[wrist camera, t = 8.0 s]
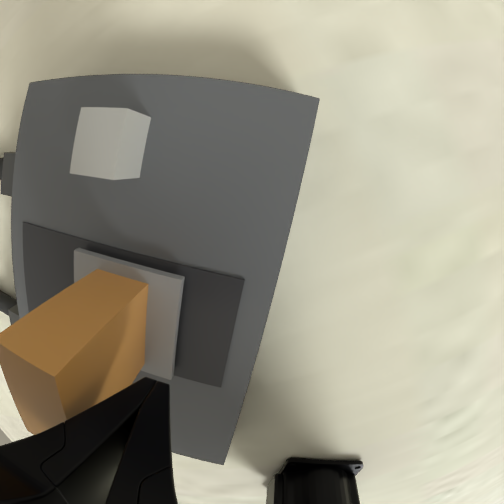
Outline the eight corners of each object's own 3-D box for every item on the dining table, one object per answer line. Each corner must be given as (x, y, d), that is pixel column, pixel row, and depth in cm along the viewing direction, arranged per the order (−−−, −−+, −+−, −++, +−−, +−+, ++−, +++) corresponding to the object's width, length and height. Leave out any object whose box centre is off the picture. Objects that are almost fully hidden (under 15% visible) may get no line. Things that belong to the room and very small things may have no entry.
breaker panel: (310, 114, 12) (329, 82, 7) (229, 432, 18) (219, 489, 13) (42, 93, 12) (-15, 82, 8) (40, 362, 18) (6, 396, 13)
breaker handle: (184, 276, 11) (99, 383, 5) (173, 374, 12) (121, 485, 6) (79, 247, 11) (-34, 305, 5) (82, 342, 12) (7, 421, 6)
